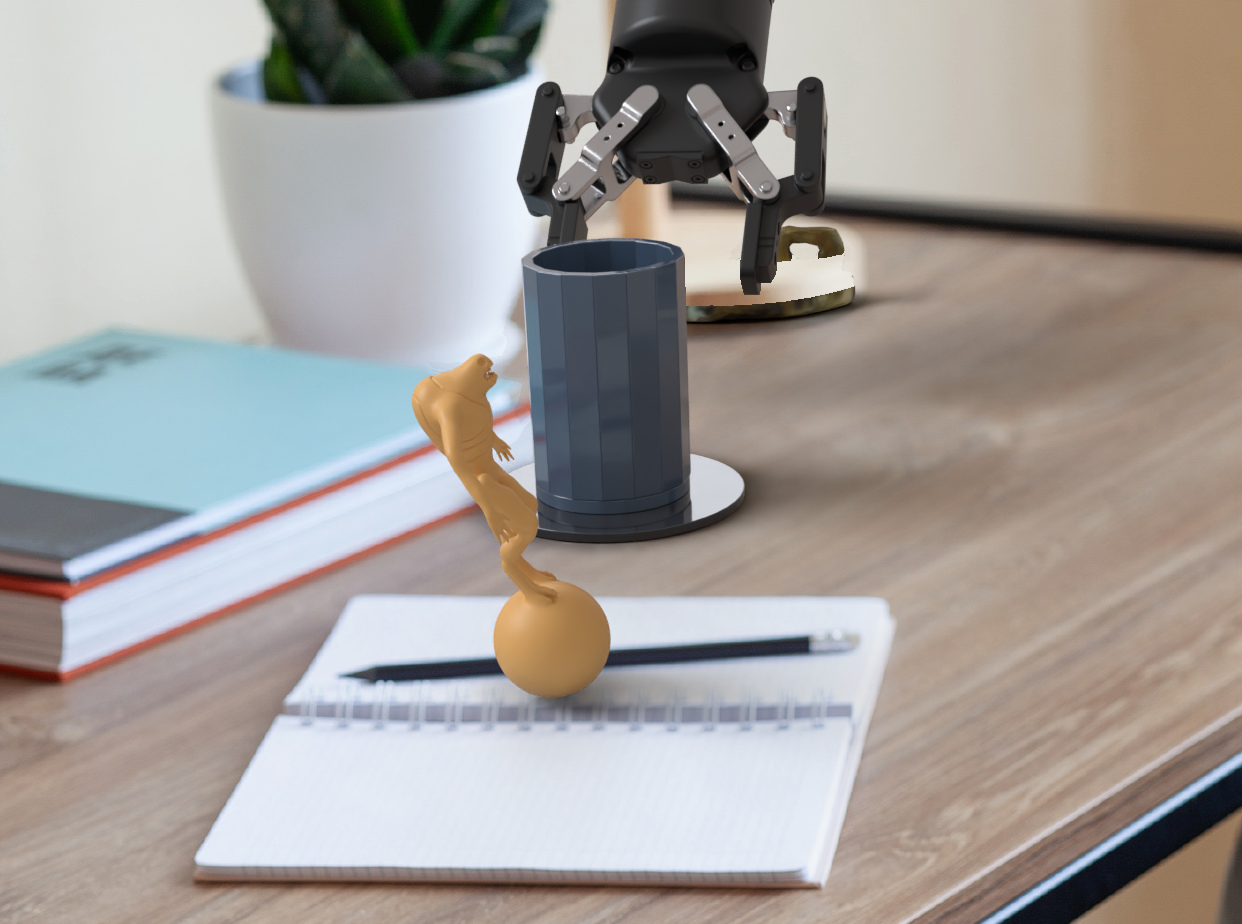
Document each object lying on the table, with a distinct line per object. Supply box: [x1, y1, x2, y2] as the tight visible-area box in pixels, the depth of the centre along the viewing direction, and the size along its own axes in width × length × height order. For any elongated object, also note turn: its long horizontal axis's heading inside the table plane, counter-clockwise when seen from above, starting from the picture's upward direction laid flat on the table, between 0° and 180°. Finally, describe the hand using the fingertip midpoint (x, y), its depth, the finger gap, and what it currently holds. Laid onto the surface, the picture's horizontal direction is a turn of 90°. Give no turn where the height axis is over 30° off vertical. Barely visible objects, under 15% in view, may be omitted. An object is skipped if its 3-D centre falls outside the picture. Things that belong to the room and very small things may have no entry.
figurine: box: [411, 353, 612, 699], centre depth 69 cm, size 8×6×12 cm
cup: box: [520, 237, 691, 514], centre depth 87 cm, size 7×7×10 cm
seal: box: [686, 224, 856, 323], centre depth 118 cm, size 9×5×15 cm
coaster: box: [507, 453, 746, 543], centre depth 89 cm, size 11×11×1 cm
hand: (657, 286), depth 96 cm, fingers open, 8 cm apart
